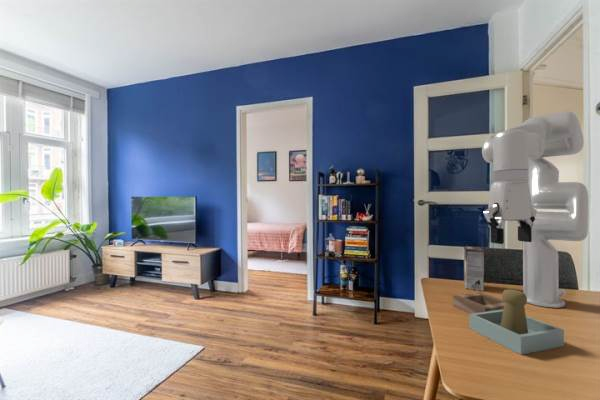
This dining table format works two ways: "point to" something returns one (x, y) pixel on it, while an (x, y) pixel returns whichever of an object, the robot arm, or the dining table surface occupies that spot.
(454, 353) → the dining table surface
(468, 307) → the socket
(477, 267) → the coffee box
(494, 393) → the dining table surface
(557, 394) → the dining table surface
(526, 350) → the tray
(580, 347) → the dining table surface
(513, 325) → the cork
